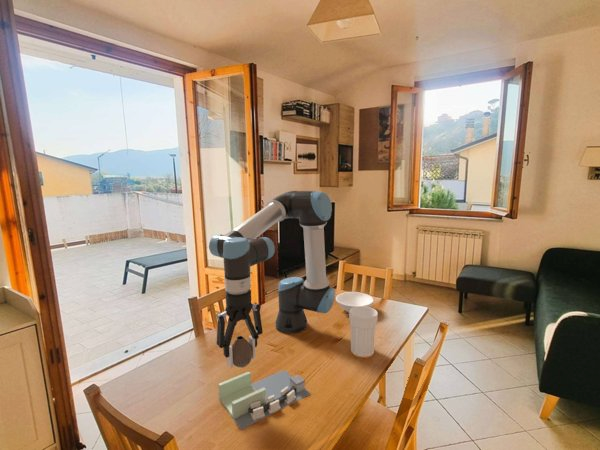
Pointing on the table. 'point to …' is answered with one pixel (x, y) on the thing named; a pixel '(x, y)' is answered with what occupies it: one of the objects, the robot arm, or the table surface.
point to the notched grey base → (281, 400)
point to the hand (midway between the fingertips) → (241, 360)
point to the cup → (362, 330)
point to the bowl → (353, 300)
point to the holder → (240, 395)
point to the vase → (241, 352)
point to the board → (272, 387)
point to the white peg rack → (274, 406)
